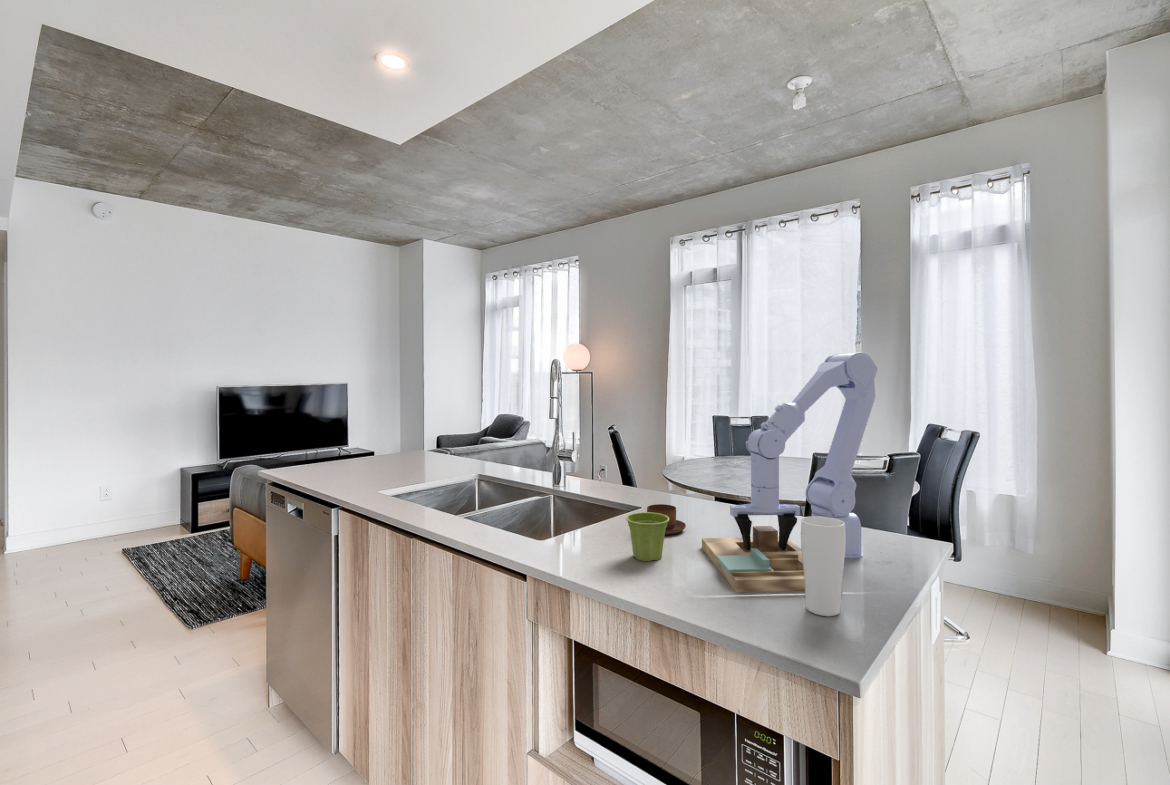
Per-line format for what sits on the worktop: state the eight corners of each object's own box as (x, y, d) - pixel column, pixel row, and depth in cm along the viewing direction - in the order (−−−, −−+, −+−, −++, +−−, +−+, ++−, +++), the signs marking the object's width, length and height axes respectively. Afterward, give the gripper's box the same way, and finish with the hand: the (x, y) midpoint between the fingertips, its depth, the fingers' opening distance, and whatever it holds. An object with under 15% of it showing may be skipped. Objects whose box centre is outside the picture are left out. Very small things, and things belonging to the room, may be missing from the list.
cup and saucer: (628, 532, 139) (628, 508, 139) (655, 523, 148) (654, 500, 148) (669, 541, 131) (669, 515, 131) (694, 530, 140) (694, 506, 140)
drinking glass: (793, 603, 94) (793, 516, 94) (831, 601, 95) (831, 515, 94) (813, 620, 87) (813, 527, 87) (854, 618, 88) (854, 525, 88)
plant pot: (674, 553, 122) (674, 514, 121) (662, 567, 113) (662, 525, 113) (634, 548, 126) (634, 510, 125) (619, 561, 117) (619, 520, 117)
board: (784, 547, 125) (784, 534, 125) (840, 591, 99) (840, 574, 99) (701, 548, 125) (701, 535, 125) (736, 593, 99) (736, 577, 99)
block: (770, 553, 120) (770, 525, 120) (777, 559, 116) (777, 531, 116) (752, 553, 120) (752, 526, 120) (759, 559, 116) (759, 531, 116)
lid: (756, 558, 110) (756, 547, 110) (771, 573, 102) (771, 560, 102) (717, 559, 110) (717, 548, 110) (728, 573, 102) (728, 561, 102)
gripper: (790, 481, 122) (790, 542, 122) (726, 482, 121) (726, 543, 122) (804, 488, 115) (804, 552, 115) (735, 489, 114) (735, 553, 115)
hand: (764, 548), depth 118 cm, fingers open, 7 cm apart
